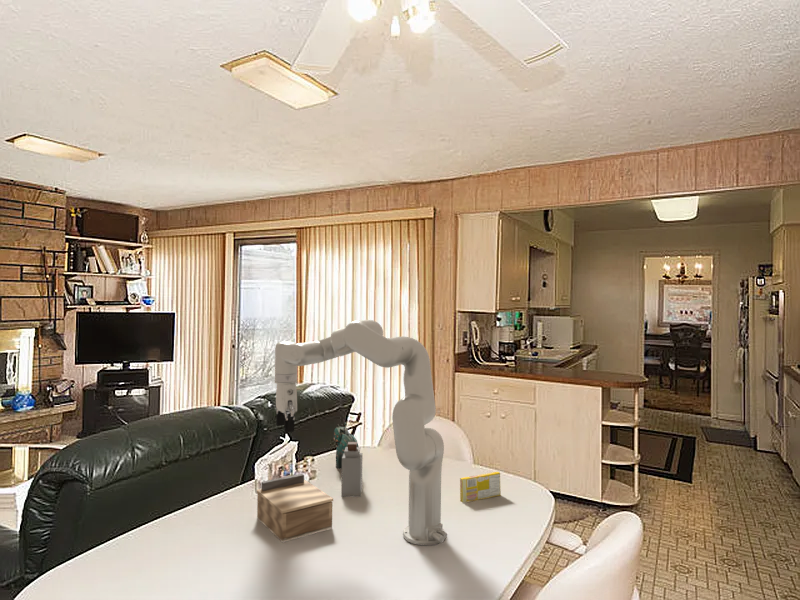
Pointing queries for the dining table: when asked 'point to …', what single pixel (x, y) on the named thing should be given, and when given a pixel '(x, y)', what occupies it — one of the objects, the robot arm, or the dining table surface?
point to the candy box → (480, 487)
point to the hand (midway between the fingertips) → (285, 428)
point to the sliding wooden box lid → (292, 493)
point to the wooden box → (294, 520)
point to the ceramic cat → (342, 443)
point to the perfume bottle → (351, 471)
